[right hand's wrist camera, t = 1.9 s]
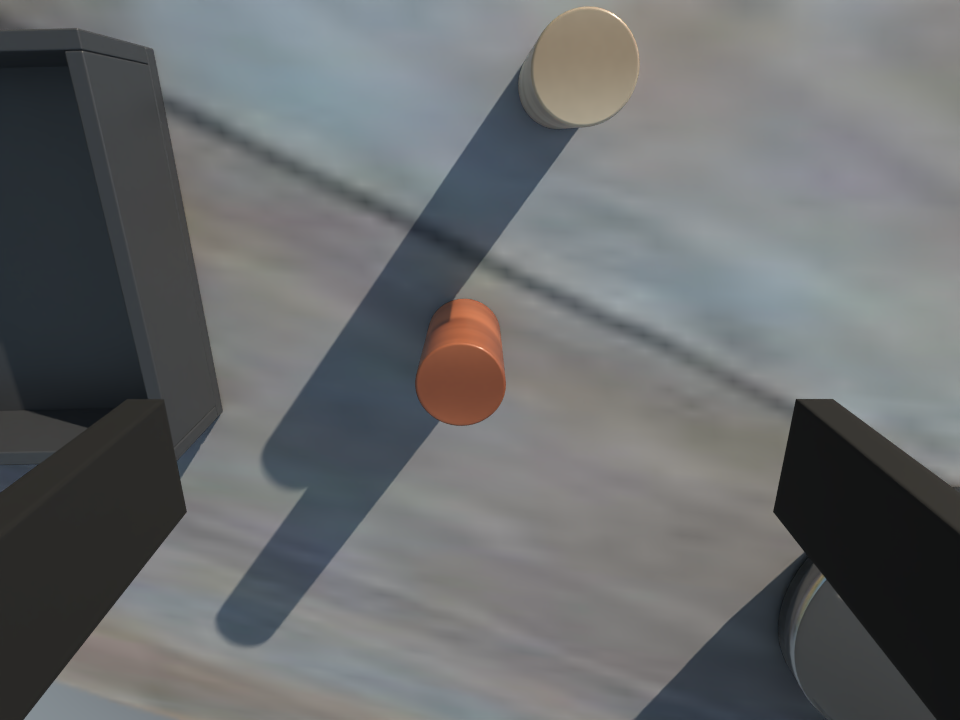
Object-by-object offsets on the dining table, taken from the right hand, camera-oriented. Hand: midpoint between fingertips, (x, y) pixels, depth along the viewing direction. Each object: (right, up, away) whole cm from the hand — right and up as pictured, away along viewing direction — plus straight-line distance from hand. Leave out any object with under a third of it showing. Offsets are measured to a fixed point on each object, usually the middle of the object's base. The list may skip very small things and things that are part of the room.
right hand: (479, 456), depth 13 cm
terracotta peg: (-1, +3, +14) cm, 14 cm away
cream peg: (+3, +13, +10) cm, 17 cm away
